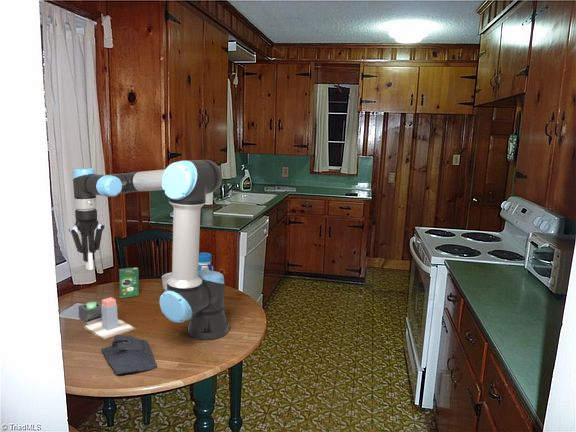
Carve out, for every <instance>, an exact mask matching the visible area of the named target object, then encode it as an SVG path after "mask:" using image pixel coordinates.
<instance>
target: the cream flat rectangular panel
mask: <svg viewBox="0 0 576 432" xmlns="http://www.w3.org/2000/svg"><path fill="white" fill-rule="evenodd" d="M80 327H81V328H82V329H84V330H85V331H87V332H88V333H90V334H92V335H93V336H94V337H97V338H99V339H100V340H101V341H102V342H105V341H107V340H110V339H114V337H115V335H124V334H127V333H130V332H132V331H136V330H137V329H138V328H137V327H135V326H134V325H132V324H130V323H128V322H127V321H124V320H123V319H121V318H119V317H118V328H115V329H112V330H109V331H107V330H106V329H104V328H102V318H99V319H95V320H92V321H89V322H85V323H83V324H82V325H80Z"/></svg>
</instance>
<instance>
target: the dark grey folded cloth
mask: <svg viewBox="0 0 576 432" xmlns="http://www.w3.org/2000/svg"><path fill="white" fill-rule="evenodd" d="M111 343H112V344H111V345H109V346H106V347H103V348H101V352H102V354H103V356H104V358H105V359H106V361H107V363H108V364H109V365H110V367H111V368H112V369H113V372H115V374H117V375H122V374H123V375H125V374H130V373H137V372H138V373H141V372H146V371H151V370H152V371H153V370H155V369H158V363H157V362H156V359H155V355H154V353H153V351H152V349H151V347H150V344H149V342H148V340H146V339H140V338H137V337H135V336H132V335H124V334H122V335H115V337H114V338H113V340H112V342H111Z"/></svg>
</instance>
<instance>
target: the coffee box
mask: <svg viewBox="0 0 576 432" xmlns="http://www.w3.org/2000/svg"><path fill="white" fill-rule="evenodd" d="M118 273H119V274H118V277H119V278H118V280H119V281H118V282H119V284H118V285H119V287H118V288H119V298H120V299H127V298H133V297H139V295H140V294H139V293H140V292H139V287H140V286H139V268H138V267H126V268H119V269H118Z"/></svg>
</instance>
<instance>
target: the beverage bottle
mask: <svg viewBox="0 0 576 432" xmlns="http://www.w3.org/2000/svg"><path fill="white" fill-rule="evenodd" d="M211 262H212V254H211V253H209V252H199V261H198V271H201V270H209V271H214V266H213V264H212V263H211Z"/></svg>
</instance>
